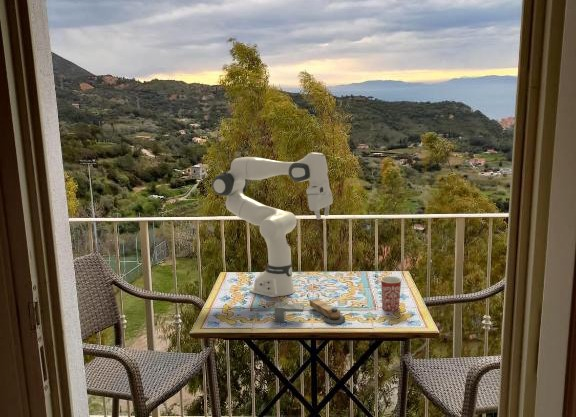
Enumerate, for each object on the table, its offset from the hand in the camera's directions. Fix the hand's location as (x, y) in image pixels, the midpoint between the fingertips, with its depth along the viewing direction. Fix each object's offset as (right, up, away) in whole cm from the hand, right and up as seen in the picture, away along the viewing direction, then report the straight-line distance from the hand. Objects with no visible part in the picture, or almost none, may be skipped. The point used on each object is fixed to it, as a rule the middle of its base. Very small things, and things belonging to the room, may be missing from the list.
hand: (322, 217), depth 245 cm
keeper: (-15, -43, -19) cm, 49 cm away
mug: (+29, -40, -7) cm, 50 cm away
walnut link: (0, -41, -15) cm, 43 cm away
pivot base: (+3, -43, -21) cm, 48 cm away
